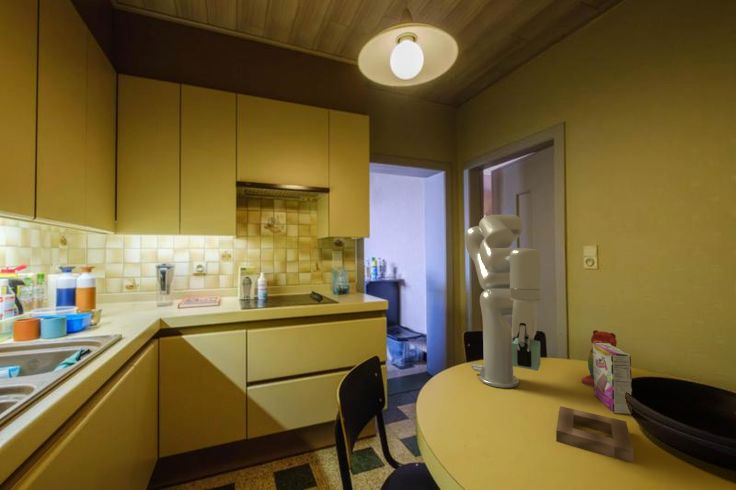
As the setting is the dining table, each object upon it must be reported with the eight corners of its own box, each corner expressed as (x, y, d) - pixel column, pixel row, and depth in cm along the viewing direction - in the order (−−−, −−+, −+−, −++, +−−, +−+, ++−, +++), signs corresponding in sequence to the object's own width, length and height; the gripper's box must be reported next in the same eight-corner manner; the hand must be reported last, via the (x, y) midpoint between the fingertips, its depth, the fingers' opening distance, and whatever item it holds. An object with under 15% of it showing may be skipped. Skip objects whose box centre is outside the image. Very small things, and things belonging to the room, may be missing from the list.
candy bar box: (592, 395, 97) (591, 342, 98) (610, 397, 96) (609, 342, 97) (612, 413, 86) (611, 353, 87) (633, 415, 85) (632, 354, 86)
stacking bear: (578, 382, 107) (577, 329, 108) (597, 377, 111) (595, 326, 112) (613, 395, 97) (612, 337, 98) (632, 389, 101) (631, 333, 102)
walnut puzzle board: (556, 440, 74) (556, 430, 74) (560, 415, 86) (559, 406, 86) (633, 463, 66) (633, 451, 66) (626, 431, 78) (626, 421, 78)
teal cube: (512, 365, 84) (511, 343, 84) (516, 359, 89) (515, 337, 89) (537, 370, 80) (537, 347, 80) (540, 363, 85) (540, 341, 85)
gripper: (515, 290, 94) (516, 350, 94) (503, 297, 80) (504, 369, 79) (544, 291, 90) (545, 355, 89) (537, 300, 75) (538, 376, 75)
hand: (526, 361), depth 84 cm, fingers closed on teal cube, 6 cm apart
